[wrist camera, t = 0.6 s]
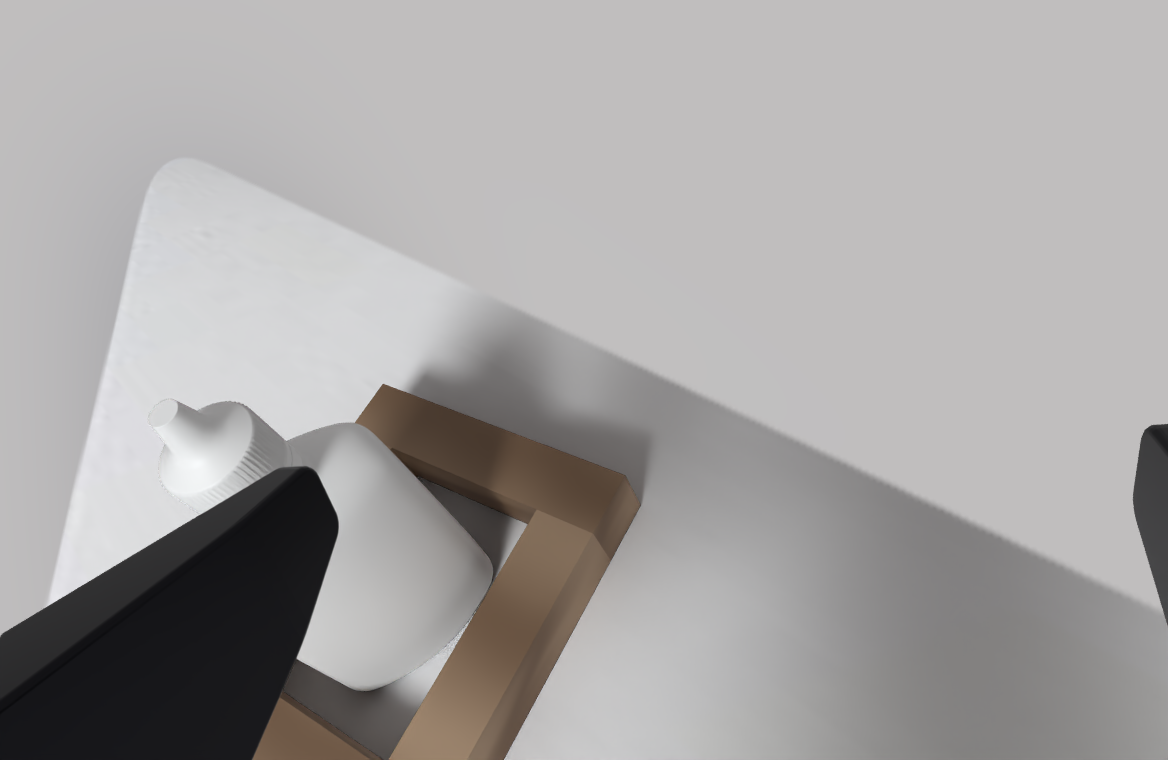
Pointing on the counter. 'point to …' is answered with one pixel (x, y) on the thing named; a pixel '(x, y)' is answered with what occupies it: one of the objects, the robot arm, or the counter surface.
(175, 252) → the counter surface
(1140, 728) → the counter surface
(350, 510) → the eye dropper bottle
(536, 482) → the wooden tray
